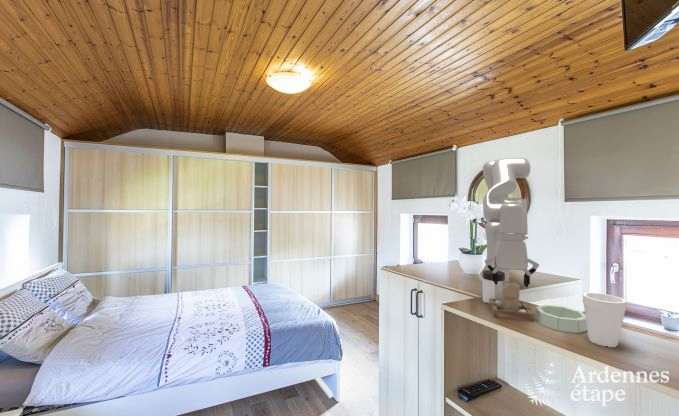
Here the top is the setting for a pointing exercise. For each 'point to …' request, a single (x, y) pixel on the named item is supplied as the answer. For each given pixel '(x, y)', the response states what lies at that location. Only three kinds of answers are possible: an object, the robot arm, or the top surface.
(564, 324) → the bowl
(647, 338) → the top surface
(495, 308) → the tray
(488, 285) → the jar
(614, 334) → the foam cup
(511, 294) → the box
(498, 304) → the pebble
